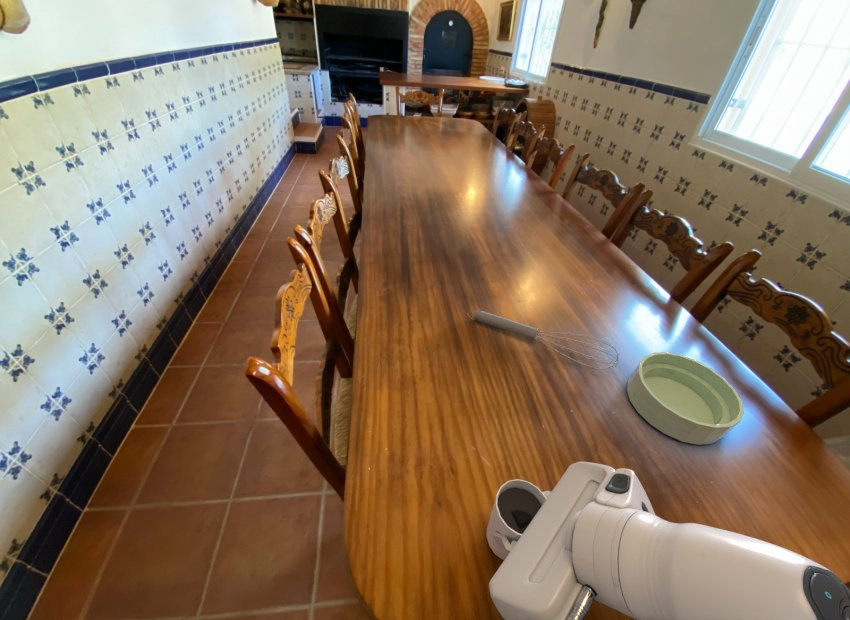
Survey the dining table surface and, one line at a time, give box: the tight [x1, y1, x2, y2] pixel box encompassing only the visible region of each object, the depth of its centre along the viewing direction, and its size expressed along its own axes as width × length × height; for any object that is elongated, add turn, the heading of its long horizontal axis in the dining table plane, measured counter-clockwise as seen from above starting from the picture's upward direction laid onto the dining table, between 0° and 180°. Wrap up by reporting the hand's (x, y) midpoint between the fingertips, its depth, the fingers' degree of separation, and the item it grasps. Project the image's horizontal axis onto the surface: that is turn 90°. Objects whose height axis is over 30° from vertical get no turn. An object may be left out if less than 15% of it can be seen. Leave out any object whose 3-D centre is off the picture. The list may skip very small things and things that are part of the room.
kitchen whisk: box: [466, 308, 620, 370], centre depth 79 cm, size 6×34×6 cm, turn 62°
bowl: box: [626, 351, 745, 446], centre depth 68 cm, size 17×17×6 cm
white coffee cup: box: [486, 478, 547, 561], centre depth 46 cm, size 7×7×10 cm
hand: (511, 517), depth 47 cm, fingers closed on white coffee cup, 4 cm apart
